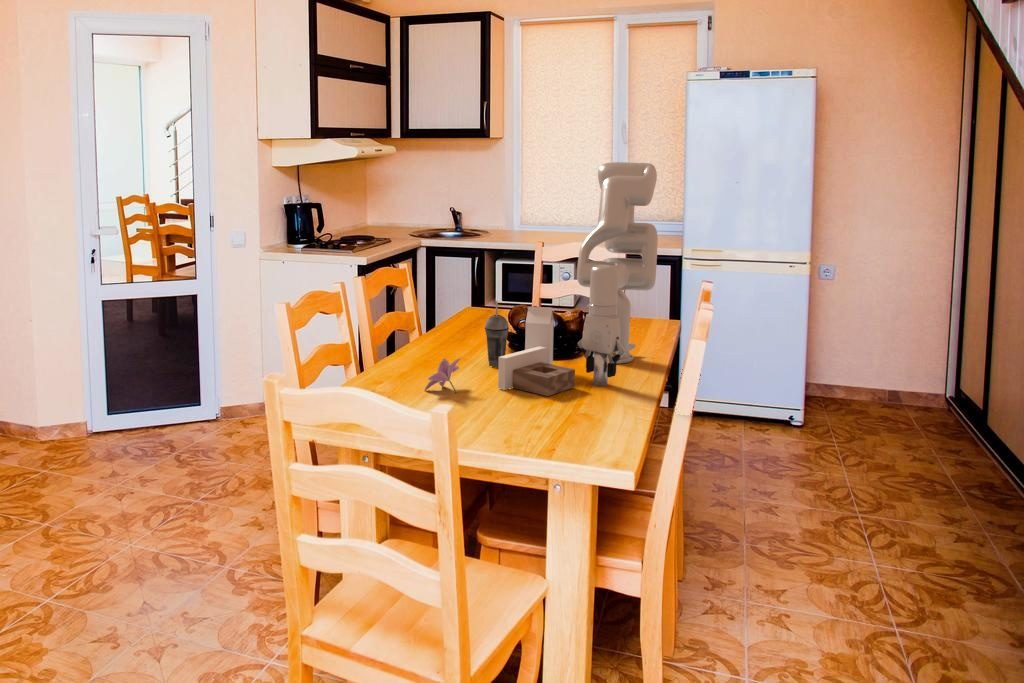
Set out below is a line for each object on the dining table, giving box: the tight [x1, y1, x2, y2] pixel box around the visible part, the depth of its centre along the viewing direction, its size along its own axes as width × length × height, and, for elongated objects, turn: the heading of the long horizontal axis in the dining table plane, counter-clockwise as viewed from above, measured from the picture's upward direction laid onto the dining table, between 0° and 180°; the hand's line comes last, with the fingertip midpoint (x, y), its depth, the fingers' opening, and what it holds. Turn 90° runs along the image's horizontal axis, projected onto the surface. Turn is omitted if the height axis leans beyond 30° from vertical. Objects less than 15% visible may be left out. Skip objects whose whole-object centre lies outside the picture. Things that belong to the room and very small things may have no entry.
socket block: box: [512, 362, 576, 397], centre depth 244 cm, size 12×12×5 cm
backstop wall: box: [497, 346, 547, 391], centre depth 248 cm, size 18×2×9 cm, turn 140°
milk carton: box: [524, 306, 555, 365], centre depth 261 cm, size 7×7×19 cm
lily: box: [423, 357, 461, 394], centre depth 240 cm, size 12×12×10 cm
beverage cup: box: [484, 300, 510, 368], centre depth 266 cm, size 7×7×20 cm
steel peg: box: [592, 352, 609, 387], centre depth 248 cm, size 4×4×10 cm
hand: (600, 373), depth 248 cm, fingers open, 6 cm apart
